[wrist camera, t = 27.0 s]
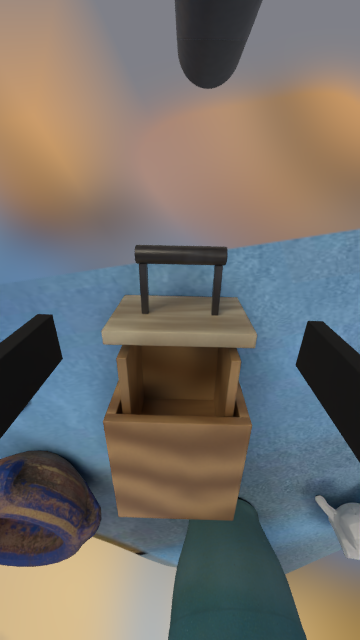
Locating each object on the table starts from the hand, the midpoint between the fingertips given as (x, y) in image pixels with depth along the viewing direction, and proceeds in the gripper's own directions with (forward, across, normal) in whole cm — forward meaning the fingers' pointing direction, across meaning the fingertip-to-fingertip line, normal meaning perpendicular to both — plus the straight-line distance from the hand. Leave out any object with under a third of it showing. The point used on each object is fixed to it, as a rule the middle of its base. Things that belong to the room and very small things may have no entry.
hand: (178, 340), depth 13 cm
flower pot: (+14, +8, -44) cm, 47 cm away
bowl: (+14, -21, -33) cm, 41 cm away
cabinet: (+14, 0, -18) cm, 22 cm away
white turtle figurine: (+14, +28, -38) cm, 49 cm away
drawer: (+13, 0, -6) cm, 14 cm away
